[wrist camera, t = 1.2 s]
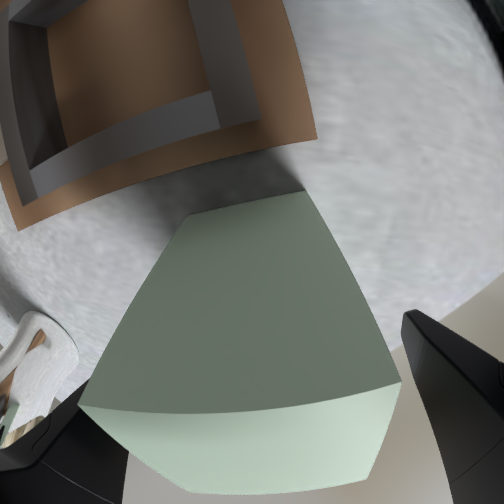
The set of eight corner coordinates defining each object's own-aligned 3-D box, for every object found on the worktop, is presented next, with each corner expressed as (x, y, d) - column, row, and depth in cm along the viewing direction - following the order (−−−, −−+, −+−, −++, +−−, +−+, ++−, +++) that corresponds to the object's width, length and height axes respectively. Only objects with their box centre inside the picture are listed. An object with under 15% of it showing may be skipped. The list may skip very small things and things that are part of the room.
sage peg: (306, 190, 12) (401, 381, 3) (320, 291, 15) (366, 478, 6) (187, 215, 13) (76, 404, 4) (219, 309, 15) (188, 491, 6)
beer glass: (18, 335, 18) (-54, 455, 5) (22, 289, 15) (-85, 435, 2) (77, 379, 20) (20, 513, 6) (92, 343, 17) (13, 521, 4)
